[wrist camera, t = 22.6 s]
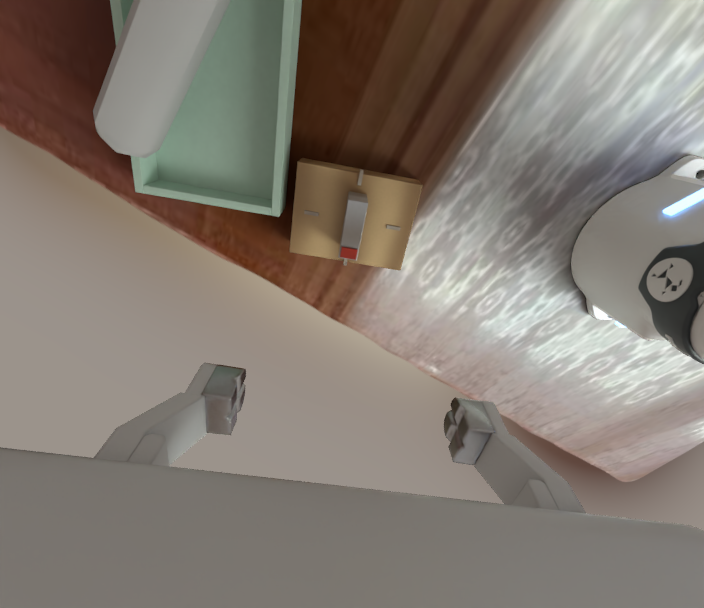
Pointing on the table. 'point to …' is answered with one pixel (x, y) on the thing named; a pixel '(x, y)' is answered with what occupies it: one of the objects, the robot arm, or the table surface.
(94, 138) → the table surface
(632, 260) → the robot arm
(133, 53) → the tube
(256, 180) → the green tray
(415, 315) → the table surface
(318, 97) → the table surface
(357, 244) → the tap knob
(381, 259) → the panel
